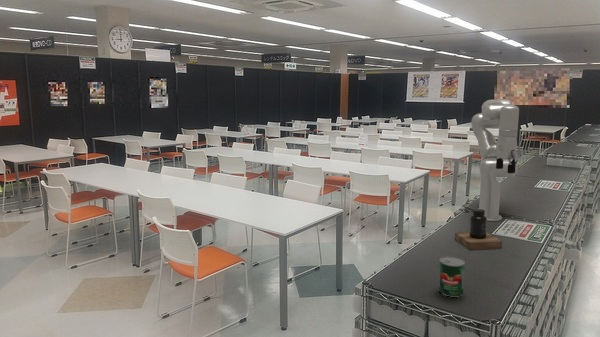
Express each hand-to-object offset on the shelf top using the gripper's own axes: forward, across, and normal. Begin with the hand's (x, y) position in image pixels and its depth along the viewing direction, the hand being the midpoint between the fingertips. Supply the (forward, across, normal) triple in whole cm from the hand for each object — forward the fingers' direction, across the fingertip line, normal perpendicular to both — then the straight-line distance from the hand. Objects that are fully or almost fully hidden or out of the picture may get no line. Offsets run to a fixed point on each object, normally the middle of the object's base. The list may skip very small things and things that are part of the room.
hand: (505, 170), depth 191 cm
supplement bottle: (+26, +13, -18) cm, 34 cm away
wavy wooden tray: (+29, +14, -18) cm, 37 cm away
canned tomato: (+28, +56, -49) cm, 80 cm away
